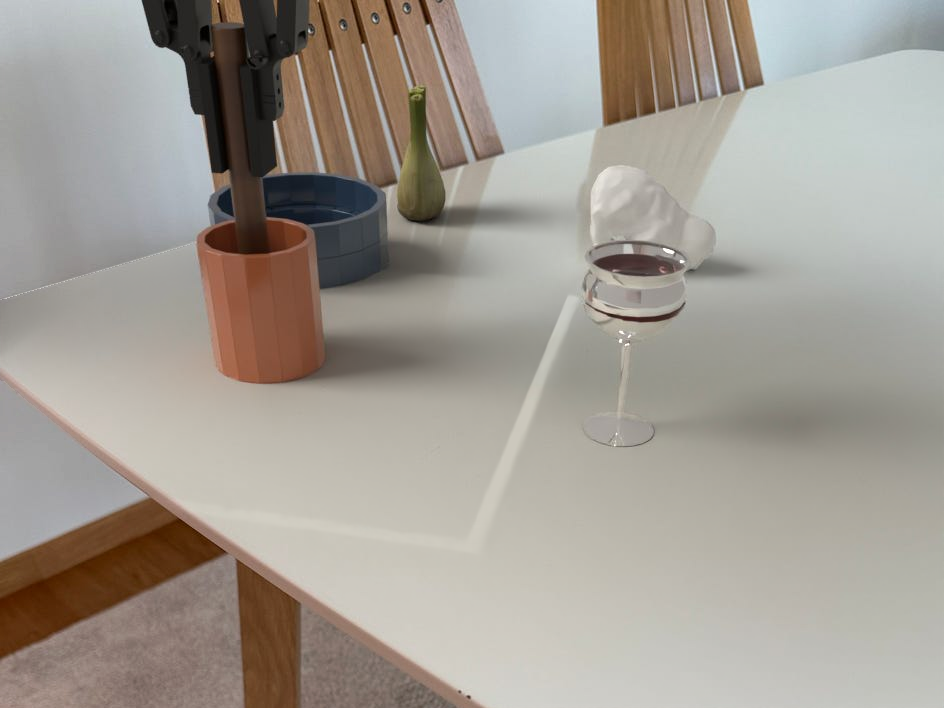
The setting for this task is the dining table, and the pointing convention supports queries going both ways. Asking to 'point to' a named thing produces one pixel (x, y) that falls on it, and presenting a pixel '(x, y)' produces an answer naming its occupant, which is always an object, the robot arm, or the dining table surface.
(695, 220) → the lumpy white blob
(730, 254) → the dining table surface
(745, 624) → the dining table surface
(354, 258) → the bowl
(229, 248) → the pot
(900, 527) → the dining table surface
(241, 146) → the stirring stick
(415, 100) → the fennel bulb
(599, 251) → the wineglass
